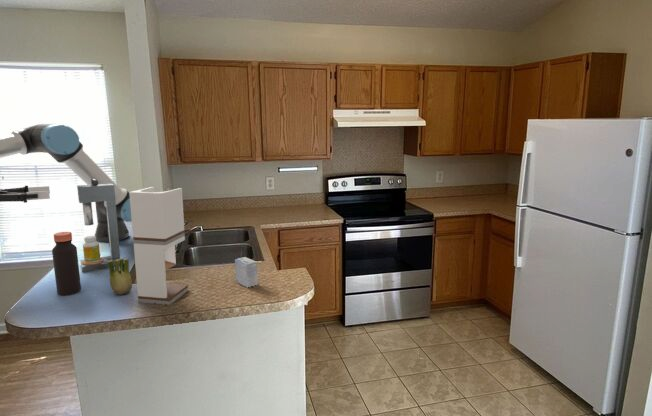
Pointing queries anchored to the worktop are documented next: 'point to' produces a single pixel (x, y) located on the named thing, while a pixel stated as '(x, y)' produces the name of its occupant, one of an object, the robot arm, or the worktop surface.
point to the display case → (156, 242)
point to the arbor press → (107, 194)
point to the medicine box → (246, 272)
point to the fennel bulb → (120, 277)
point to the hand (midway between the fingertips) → (49, 192)
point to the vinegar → (66, 264)
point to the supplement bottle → (91, 249)
